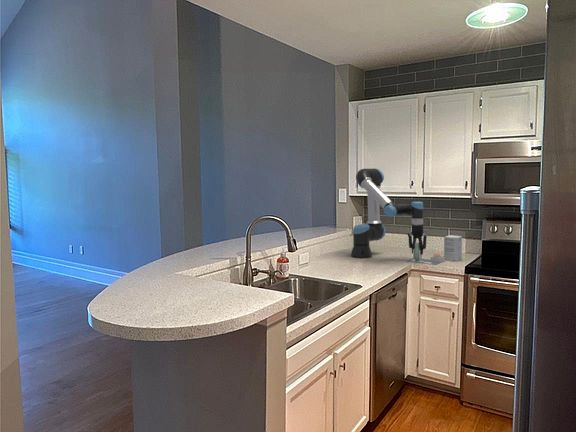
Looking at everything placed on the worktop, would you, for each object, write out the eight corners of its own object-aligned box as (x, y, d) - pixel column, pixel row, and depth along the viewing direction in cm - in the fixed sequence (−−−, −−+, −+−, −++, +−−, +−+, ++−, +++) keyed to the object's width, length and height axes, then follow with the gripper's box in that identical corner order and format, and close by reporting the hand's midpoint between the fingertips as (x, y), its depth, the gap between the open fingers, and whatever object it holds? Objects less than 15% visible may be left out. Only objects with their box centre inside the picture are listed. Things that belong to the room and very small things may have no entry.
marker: (413, 260, 285) (413, 242, 284) (416, 259, 287) (416, 242, 286) (418, 261, 282) (418, 243, 281) (421, 260, 285) (421, 242, 284)
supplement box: (448, 258, 293) (448, 235, 292) (462, 260, 288) (462, 235, 286) (443, 261, 286) (443, 236, 285) (457, 262, 280) (457, 237, 279)
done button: (433, 259, 282) (433, 253, 281) (435, 258, 284) (435, 252, 284) (438, 260, 279) (438, 254, 279) (440, 259, 282) (440, 253, 282)
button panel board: (404, 262, 285) (404, 256, 285) (414, 258, 297) (414, 252, 297) (435, 266, 270) (435, 259, 270) (445, 262, 282) (445, 256, 282)
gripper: (403, 224, 286) (403, 258, 288) (426, 225, 275) (426, 260, 276) (408, 223, 291) (408, 256, 293) (431, 224, 280) (431, 259, 282)
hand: (417, 258), depth 285 cm, fingers closed on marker, 3 cm apart
